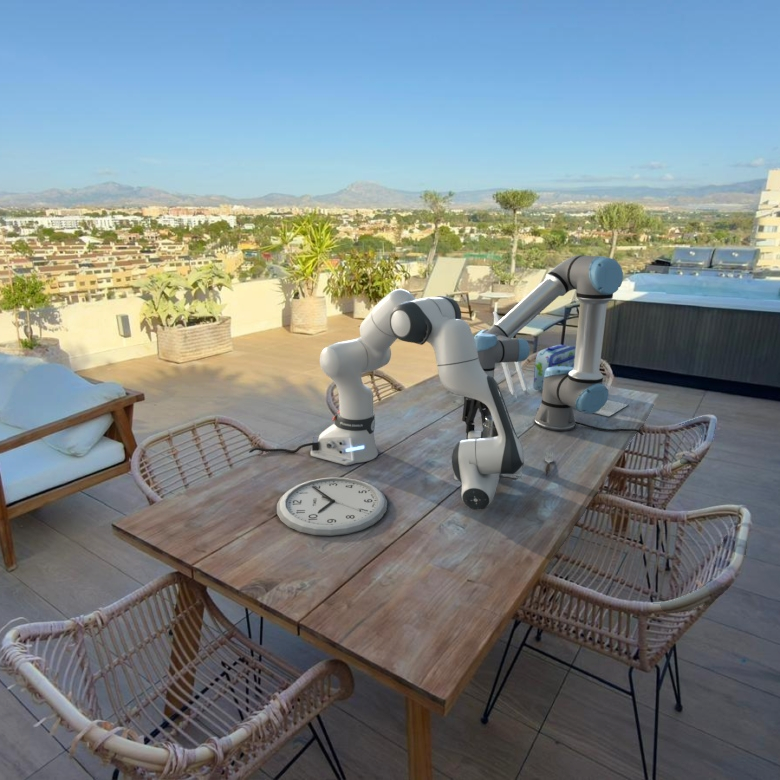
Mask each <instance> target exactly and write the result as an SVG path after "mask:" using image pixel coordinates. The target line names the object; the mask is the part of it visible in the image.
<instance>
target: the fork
mask: <svg viewBox="0 0 780 780" xmlns="http://www.w3.org/2000/svg"><path fill="white" fill-rule="evenodd" d="M552 452H553V453H552ZM554 455H555V452H554V451H551V452H550V453H548V452H546V453H545V459H544V461H545V462H547V464H546V466H545V475H546V476H548V473H549V471H550V468H551V467H550V464H551V463H553V462H554V458H555V456H554Z"/></svg>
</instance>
